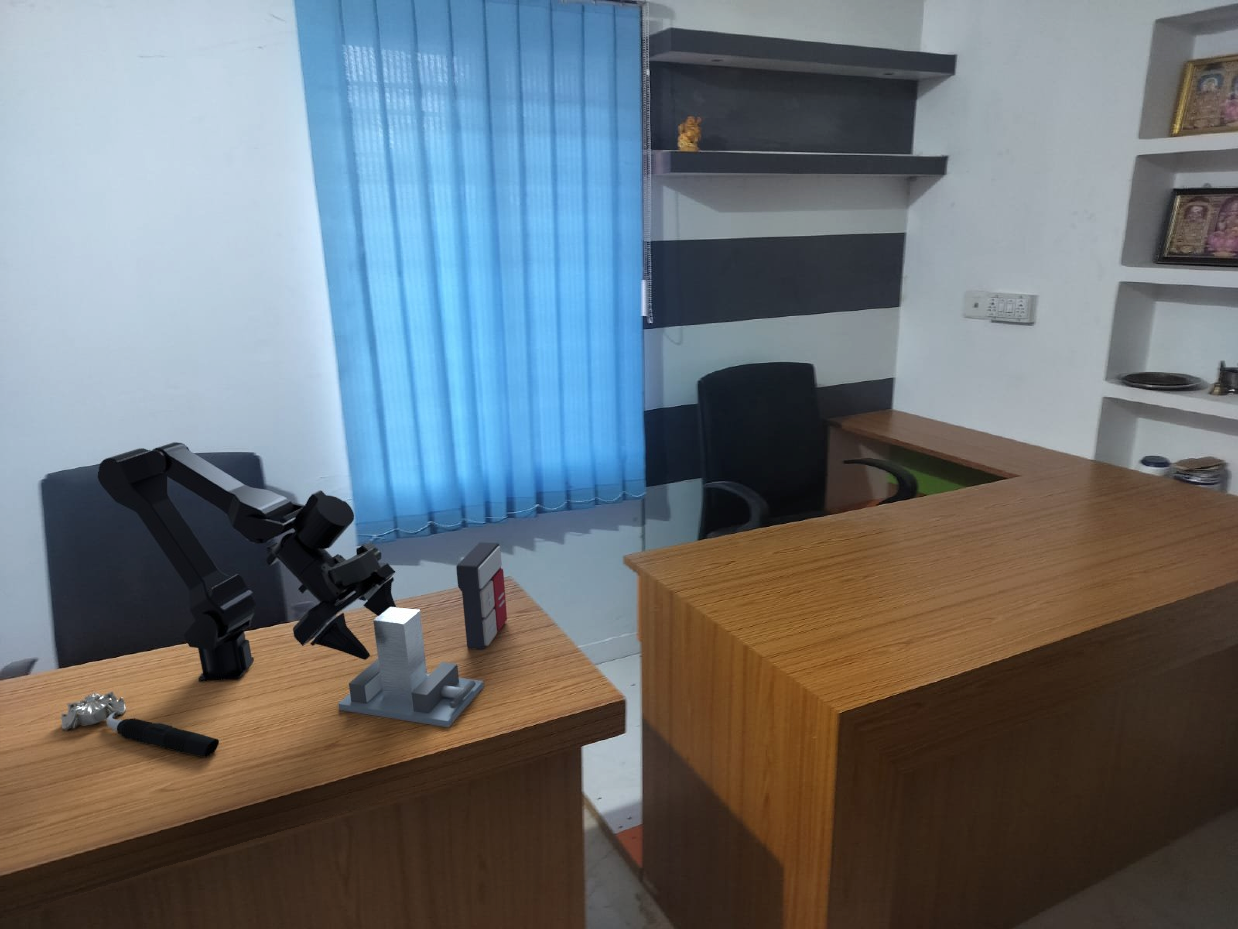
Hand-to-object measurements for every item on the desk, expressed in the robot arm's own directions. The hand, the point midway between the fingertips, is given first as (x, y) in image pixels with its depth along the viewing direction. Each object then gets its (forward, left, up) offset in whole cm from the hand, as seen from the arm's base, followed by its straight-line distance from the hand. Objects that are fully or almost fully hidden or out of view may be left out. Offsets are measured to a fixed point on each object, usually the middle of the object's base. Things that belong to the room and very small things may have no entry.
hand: (385, 642), depth 122 cm
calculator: (+12, +18, -9) cm, 24 cm away
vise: (+3, -1, -9) cm, 9 cm away
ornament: (-43, -2, -9) cm, 44 cm away
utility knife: (-30, -8, -9) cm, 33 cm away
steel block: (+2, -1, -8) cm, 8 cm away
